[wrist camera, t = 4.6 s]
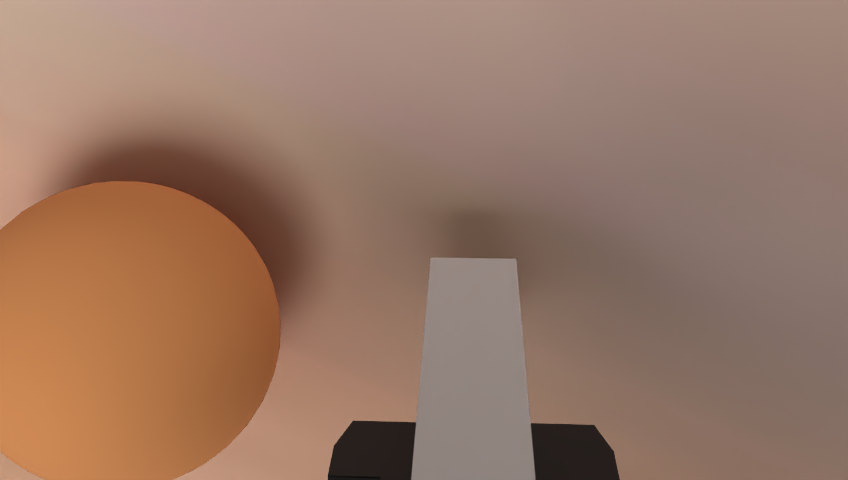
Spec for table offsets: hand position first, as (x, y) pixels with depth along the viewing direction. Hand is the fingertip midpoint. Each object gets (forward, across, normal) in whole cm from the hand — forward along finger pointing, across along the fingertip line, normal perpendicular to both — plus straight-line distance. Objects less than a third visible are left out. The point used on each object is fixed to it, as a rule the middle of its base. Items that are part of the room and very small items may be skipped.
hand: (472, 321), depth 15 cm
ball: (0, +6, 0) cm, 6 cm away
